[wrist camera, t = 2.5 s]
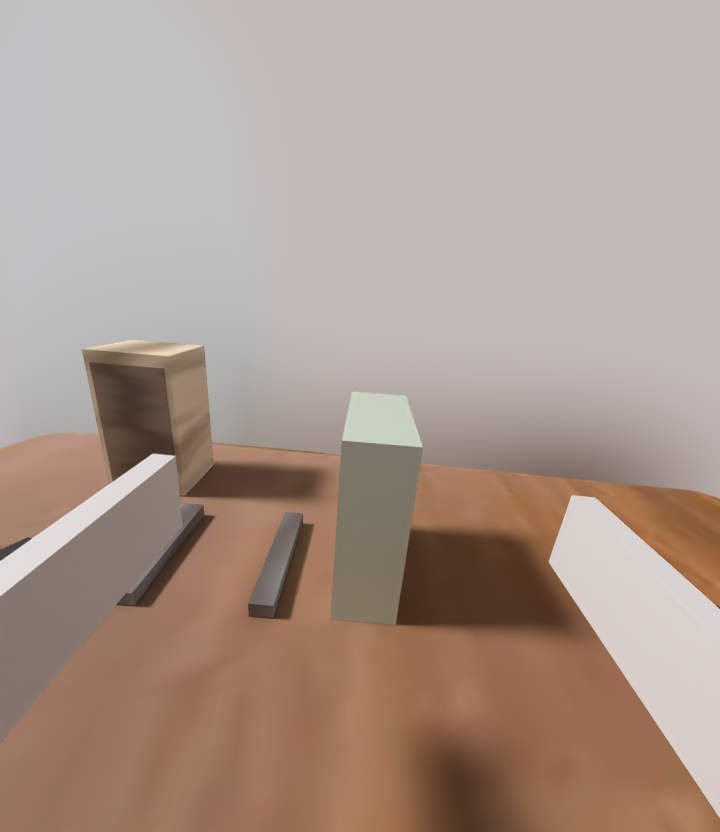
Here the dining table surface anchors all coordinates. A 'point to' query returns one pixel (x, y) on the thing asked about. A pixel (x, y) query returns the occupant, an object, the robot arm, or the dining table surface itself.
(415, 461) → the pale green block
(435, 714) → the dining table surface
